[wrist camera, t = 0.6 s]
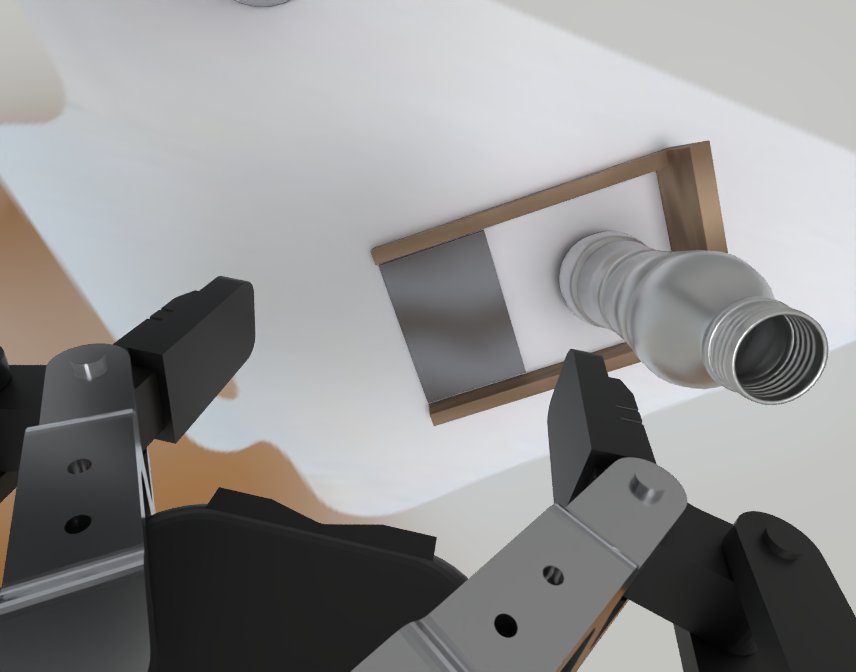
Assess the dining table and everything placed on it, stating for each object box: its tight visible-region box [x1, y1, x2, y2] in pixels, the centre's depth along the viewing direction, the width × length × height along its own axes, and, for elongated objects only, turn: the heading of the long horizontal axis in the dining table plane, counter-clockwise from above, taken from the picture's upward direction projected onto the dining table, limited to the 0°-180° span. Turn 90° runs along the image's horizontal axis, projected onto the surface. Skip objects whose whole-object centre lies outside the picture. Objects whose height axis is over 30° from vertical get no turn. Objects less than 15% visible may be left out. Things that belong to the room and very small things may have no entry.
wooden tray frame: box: [371, 141, 728, 426], centre depth 35 cm, size 14×22×5 cm, turn 108°
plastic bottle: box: [559, 231, 828, 405], centre depth 28 cm, size 6×7×20 cm
